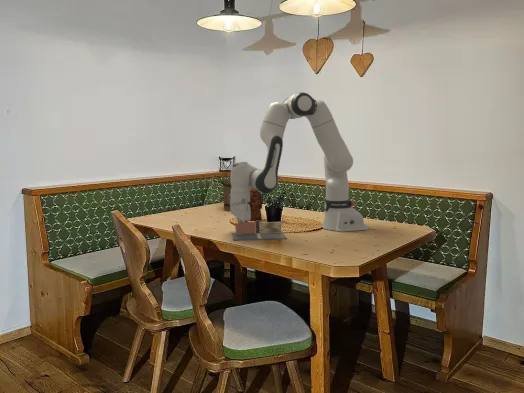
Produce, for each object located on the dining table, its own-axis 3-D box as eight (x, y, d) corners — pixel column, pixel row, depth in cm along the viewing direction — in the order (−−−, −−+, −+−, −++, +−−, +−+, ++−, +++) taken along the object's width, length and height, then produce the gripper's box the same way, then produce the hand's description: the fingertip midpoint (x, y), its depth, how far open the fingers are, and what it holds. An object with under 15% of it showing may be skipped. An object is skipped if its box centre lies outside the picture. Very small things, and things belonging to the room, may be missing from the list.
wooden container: (244, 212, 278) (244, 174, 274) (220, 211, 281) (219, 174, 278) (251, 207, 292) (251, 172, 289) (228, 206, 295) (227, 171, 292)
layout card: (282, 232, 227) (282, 231, 227) (286, 239, 214) (286, 237, 214) (231, 233, 224) (231, 232, 224) (233, 240, 211) (233, 239, 211)
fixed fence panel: (280, 232, 225) (280, 219, 224) (281, 232, 224) (281, 220, 223) (255, 232, 224) (255, 220, 223) (256, 233, 222) (255, 221, 221)
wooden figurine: (248, 223, 248) (248, 188, 245) (240, 221, 252) (239, 187, 249) (264, 219, 256) (264, 186, 253) (256, 218, 260) (256, 185, 257)
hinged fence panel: (254, 232, 223) (254, 221, 222) (255, 232, 222) (255, 222, 222) (235, 234, 219) (235, 223, 219) (236, 234, 218) (236, 224, 218)
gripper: (254, 200, 210) (254, 231, 212) (240, 194, 229) (240, 222, 231) (240, 201, 208) (240, 232, 210) (227, 194, 227) (227, 223, 229)
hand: (240, 227), depth 221 cm, fingers closed
